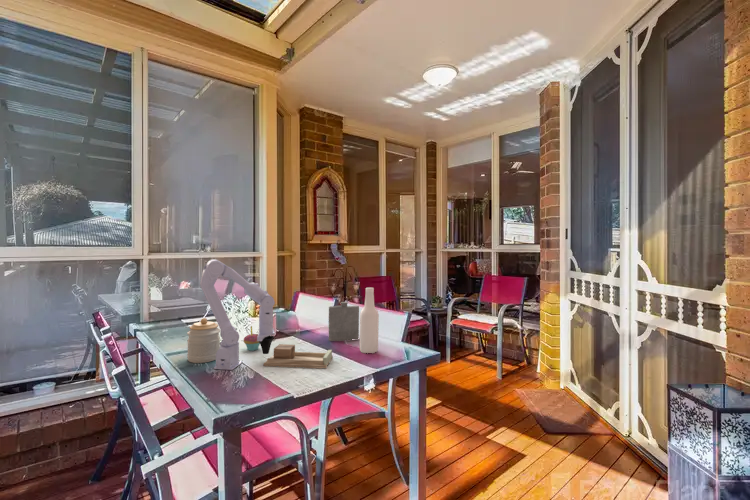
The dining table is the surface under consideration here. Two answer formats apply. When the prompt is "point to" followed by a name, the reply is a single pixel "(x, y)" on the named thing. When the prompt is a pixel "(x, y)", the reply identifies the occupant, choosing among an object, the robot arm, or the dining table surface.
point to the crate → (284, 351)
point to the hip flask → (343, 322)
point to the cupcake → (251, 341)
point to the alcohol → (369, 324)
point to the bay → (302, 360)
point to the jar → (203, 341)
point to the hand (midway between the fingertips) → (265, 353)
